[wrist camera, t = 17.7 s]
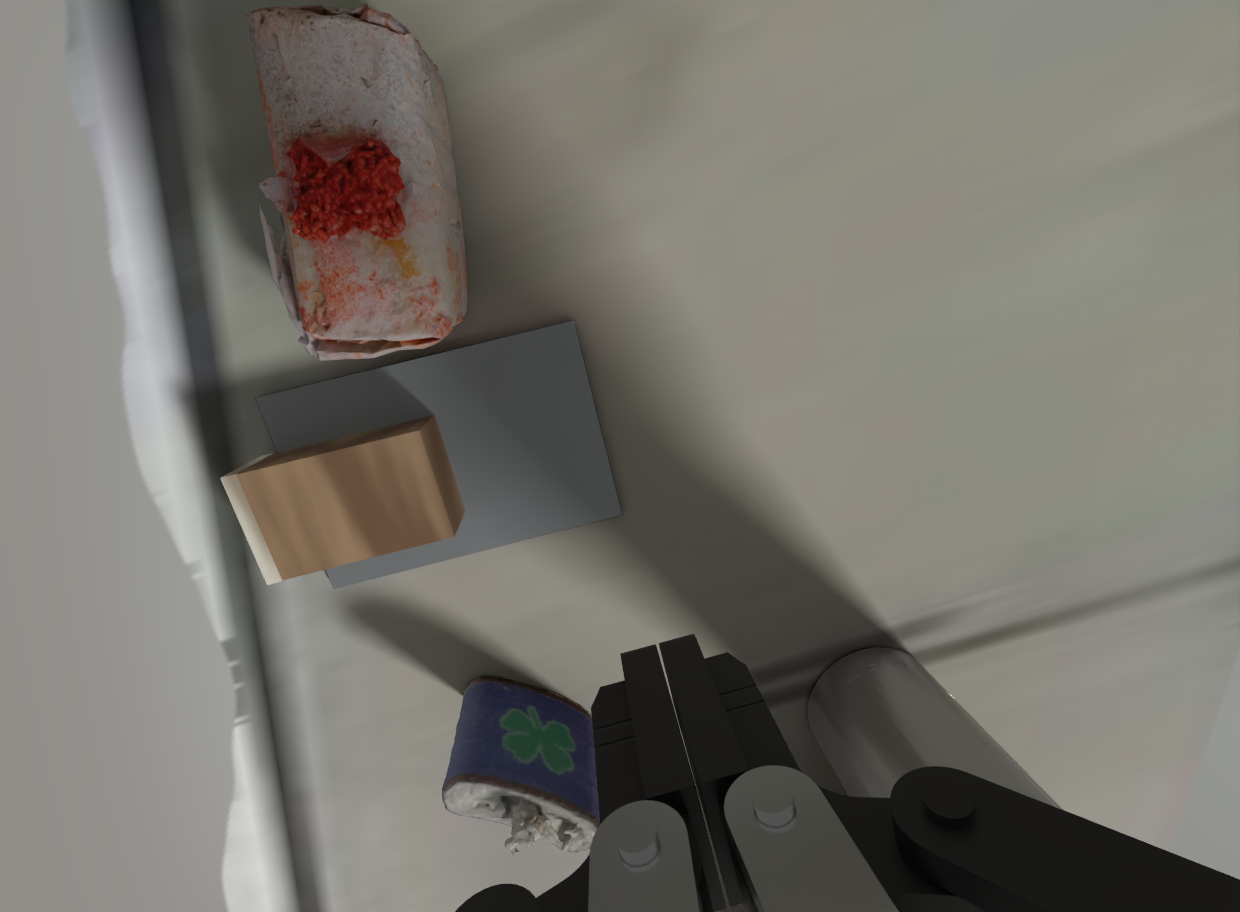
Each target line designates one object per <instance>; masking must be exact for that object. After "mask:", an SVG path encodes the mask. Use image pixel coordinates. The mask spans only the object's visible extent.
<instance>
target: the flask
mask: <svg viewBox="0 0 1240 912" xmlns="http://www.w3.org/2000/svg"><path fill="white" fill-rule="evenodd" d="M593 733H594V732H593V726H592V716H591V714H590V713H589V711H586V710H585V709H584V708H583V707H582V706H580V705H578V704H576V703H574V702H572V701H570V700H569V699H567V698H563V697H562V696H561V695H559V694H556V693H554V692H550V691H547V690H546V689H539V688H536V687H533V686H531V685H526V684H523V683H520V682H515V681H513V680H512V681H511V680H508V679H503V678H501V677H497V676H496V677H494V676H492V677H489V676H486V677H485V676H482V677H479V676H478V677H477V678H475V679H474V680H472V681H471V682H470V684H469V686H468V687H467V688H466V690H465V692H464V697H463V703H462V708H461V712H460V718H459V721H458V724H457V728H456V735H455V742H454V745H453V748H452V752H451V758H450V763H449V767H448V771H447V775H446V778H445V781H444V784H443V787H442V798H443V802H444V804H445V808H446V810H448V811H450V812H452V813H454V814H457V815H460V816H469V817H473V818H477V819H486V820H488V821H493V822H496V823H502V824H505V825H508V826H512V832H511V834H512V837H511V838H509V839H507V840H506V841H505V847H506V848H507V849H509V850H511V852H512V854H513V855H516V854H519V853H520V852H519V851H518V850H517V849H516V848H515V847H516V845H517V844H518V843H519V844H522V845H524V846H525V847H529V846H531V845H534V846H535V842H534V840H536V839H538V838H539V837H542V838H544V839H547V840H548V841H549V842H550V843H552V844H555V845H556V846H557V847H558V848H559V849H561V850H563V851H569V852H579V851H581V850H587V849H589V848H590V847H591V843H592V839H593V837H594V835H595V832H596V830H597V829H598V827H599V826H600V819H599V806H598V796H597V781H596V765H595V752H594V751H595V748H594V739H593Z"/></svg>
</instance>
